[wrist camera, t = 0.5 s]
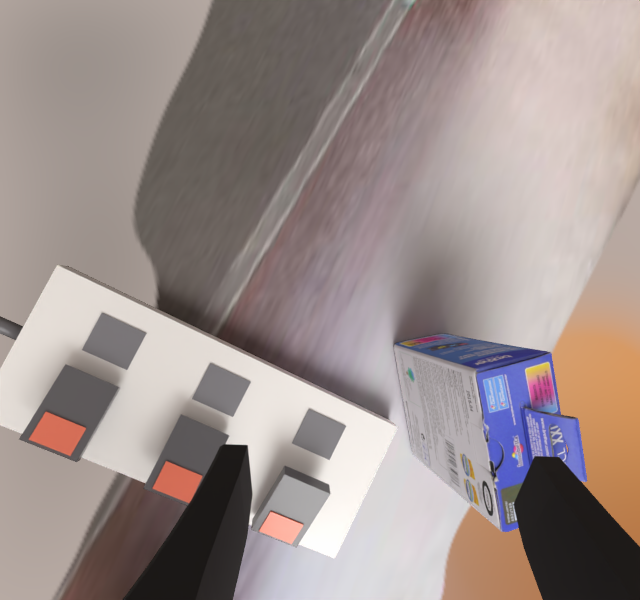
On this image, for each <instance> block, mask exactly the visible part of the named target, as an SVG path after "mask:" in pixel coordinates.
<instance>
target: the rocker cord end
mask: <svg viewBox="0 0 640 600" xmlns="http://www.w3.org/2000/svg"><path fill="white" fill-rule="evenodd" d="M119 390H120V387H118V386H116V385H113V384H111V383H109V382H106V381H104V380H102V379H99V378H97V377H95V376H93V375H90V374H88V373H86V372H83V371H81V370H79V369H77V368H74V367H72V366H70V365H67V364H65V366H64V367H63V369H62V371H61V372H60V374H59V375H58V377H57V379H56V380H55V382H54V384H53V385H52V387H51V388H50V390H49V392H48V393H47V395H46V396H45V398H44V400H43V401H42V403H41V405H40V406H39V408H38V409H37V411H36V413H35V414H34V416H33V417H32V419H31V421H30V422H29V424H28V426H27V427H26V429H25V430H24V432H23V434H22V435H21V437H20V440H22V441H25V442H27V443H30V444H33V445H35V446H37V447H40V448H42V449H45V450H47V451H50V452H53V453H55V454H57V455H60V456H63V457H65V458H68V459H70V460H73V461H75V462H77V461H79V460H80V459H81V457H82V455H83V454H84V452H85V450H86V448H87V447H88V445H89V443H90V441H91V439H92V438H93V436H94V434H95V432H96V431H97V429H98V427H99V425H100V423H101V422H102V420H103V418H104V416H105V415H106V413H107V411H108V409H109V408H110V406H111V404H112V402H113V400H114V399H115V397H116V395H117V393H118V392H119Z"/></svg>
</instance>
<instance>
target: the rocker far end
mask: <svg viewBox="0 0 640 600" xmlns="http://www.w3.org/2000/svg"><path fill="white" fill-rule="evenodd" d="M329 496H330V487H329V484H327V483H324V482H322V481H320V480H317V479H315V478H313V477H311V476H308V475H306V474H304V473H301V472H299V471H297V470H294V469H292V468H290V467H287V466H284V467H283V469H282V471H281V472H280V474H279V476H278V477H277V479H276V481H275V482H274V484H273V486H272V487H271V489H270V491H269V492H268V494H267V496H266V497H265V499H264V501H263V502H262V504H261V506H260V507H259V509H258V511H257V512H256V514H255V516H254V517H253V519H252V527H251V530H253V531H256V532H258V533H261V534H263V535H266V536H268V537H271V538H273V539H276V540H278V541H281V542H284V543H286V544H289V545H291V546H294V547H297V546H298V544H299V543H300V541H301V540H302V538H303V536H304V535H305V533H306V532H307V530H308V529H309V527H310V525H311V524H312V522H313V521H314V519H315V518H316V516H317V514H318V513H319V511H320V510H321V508H322V507H323V505H324V503H325V502H326V500H327V499H328V497H329Z"/></svg>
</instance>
